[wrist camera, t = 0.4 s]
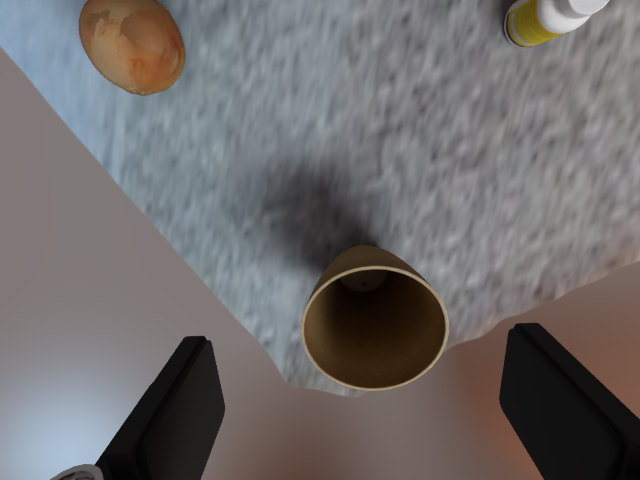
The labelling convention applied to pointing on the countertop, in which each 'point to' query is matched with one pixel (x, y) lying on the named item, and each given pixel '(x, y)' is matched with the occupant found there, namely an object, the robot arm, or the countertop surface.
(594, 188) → the countertop surface
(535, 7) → the supplement bottle
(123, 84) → the onion
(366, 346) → the plant pot
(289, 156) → the countertop surface
